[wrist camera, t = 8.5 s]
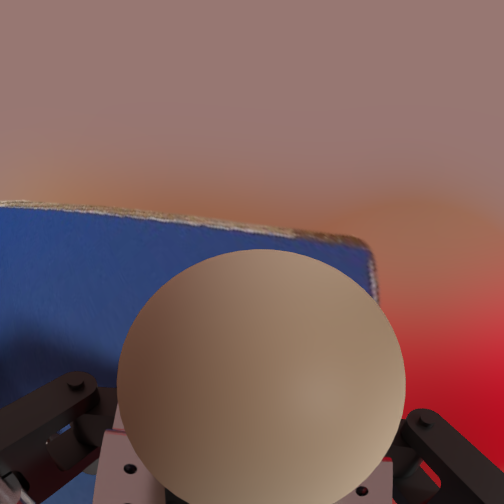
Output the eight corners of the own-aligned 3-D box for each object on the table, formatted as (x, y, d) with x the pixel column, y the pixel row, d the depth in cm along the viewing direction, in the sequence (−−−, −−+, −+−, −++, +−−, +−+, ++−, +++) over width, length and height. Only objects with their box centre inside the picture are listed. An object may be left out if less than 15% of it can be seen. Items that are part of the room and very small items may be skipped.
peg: (199, 399, 16) (78, 327, 4) (258, 364, 17) (295, 212, 5) (237, 456, 14) (222, 563, 2) (297, 418, 15) (448, 395, 3)
